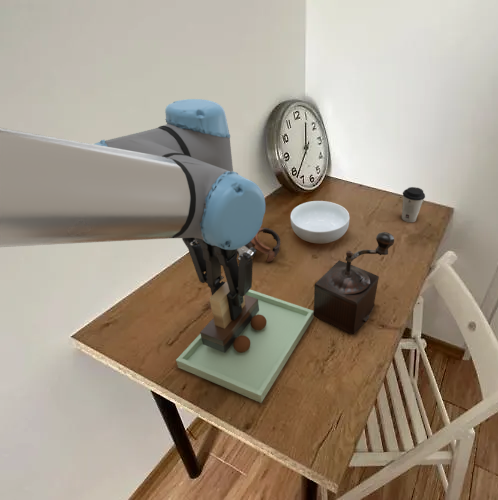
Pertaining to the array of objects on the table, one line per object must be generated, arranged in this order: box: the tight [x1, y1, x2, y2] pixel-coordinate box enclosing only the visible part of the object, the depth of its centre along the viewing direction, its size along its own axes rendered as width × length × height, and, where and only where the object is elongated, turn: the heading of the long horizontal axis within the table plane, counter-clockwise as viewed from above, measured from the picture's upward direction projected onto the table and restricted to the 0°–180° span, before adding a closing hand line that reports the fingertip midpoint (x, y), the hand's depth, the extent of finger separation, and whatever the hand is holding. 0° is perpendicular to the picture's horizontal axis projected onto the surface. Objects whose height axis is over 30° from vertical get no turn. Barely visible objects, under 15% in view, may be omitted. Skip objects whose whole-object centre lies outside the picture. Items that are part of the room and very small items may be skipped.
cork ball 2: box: [251, 315, 267, 330], centre depth 72 cm, size 3×3×3 cm
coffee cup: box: [401, 186, 426, 223], centre depth 112 cm, size 7×7×10 cm
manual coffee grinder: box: [313, 231, 395, 336], centre depth 76 cm, size 16×11×18 cm
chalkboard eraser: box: [199, 280, 259, 353], centre depth 68 cm, size 12×5×10 cm, turn 159°
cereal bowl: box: [289, 200, 350, 245], centre depth 102 cm, size 17×17×7 cm
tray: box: [175, 289, 314, 404], centre depth 71 cm, size 22×18×2 cm
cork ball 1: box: [233, 335, 250, 353], centre depth 68 cm, size 3×3×3 cm
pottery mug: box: [237, 227, 282, 263], centre depth 92 cm, size 12×10×8 cm
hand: (230, 312), depth 69 cm, fingers closed on chalkboard eraser, 2 cm apart
